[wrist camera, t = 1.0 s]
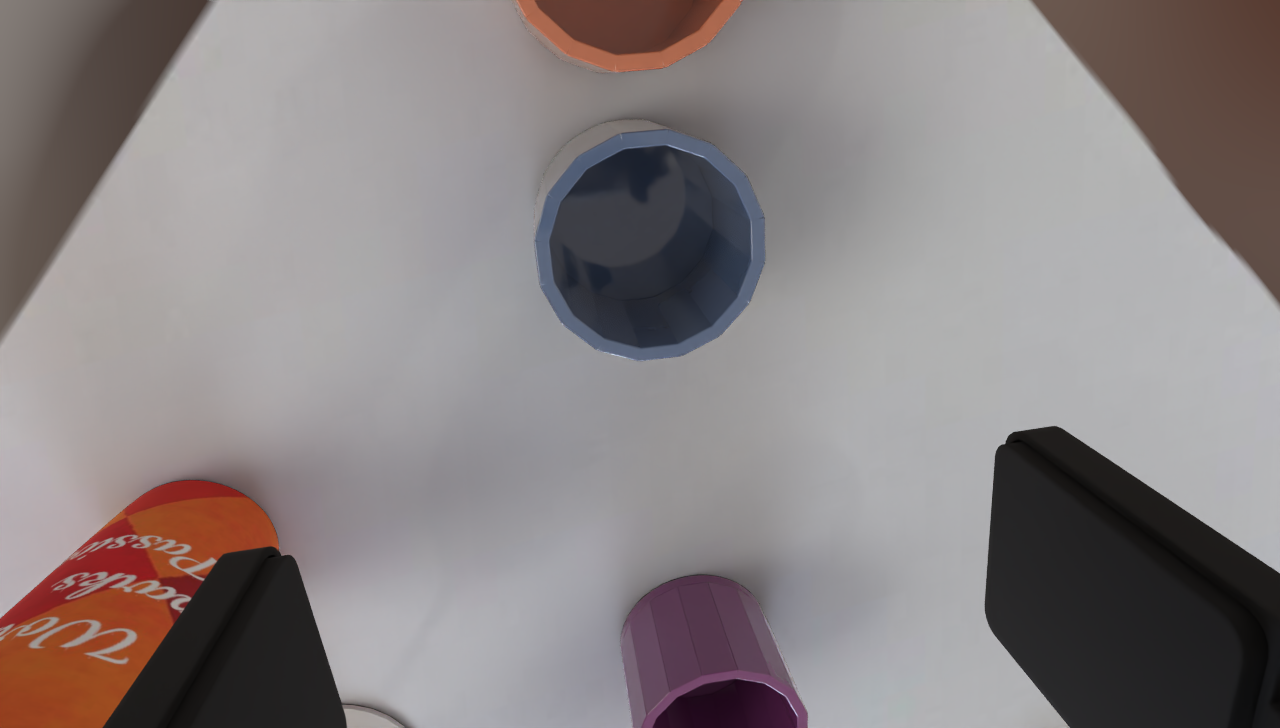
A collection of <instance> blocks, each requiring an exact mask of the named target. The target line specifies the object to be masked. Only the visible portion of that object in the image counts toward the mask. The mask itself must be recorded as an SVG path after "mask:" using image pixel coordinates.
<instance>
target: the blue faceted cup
mask: <svg viewBox="0 0 1280 728" xmlns="http://www.w3.org/2000/svg"><path fill="white" fill-rule="evenodd" d="M534 246H535V254H536V262H537V270H538V277H539V284H540V287H541V289H542V291H543V293H544V294H545V296H546V298H547V299H548V301H549V303H550V305H551V306H552V308H553V310H554V311H555V313H556V315H557V317H558V318H559V320H560V322H561V323H562V324H563V325H564V326H565V327H566V328H568V329H569V330H570V331H572V332H573V333H574V334H576V335H577V336H578V337H580V338H581V339H582V340H584V341H585V342H586V343H588V344H589V345H590V346H592V347H593V348H594V349H596V350H598V351H601V352H605V353H609V354H612V355H616V356H620V357H624V358H628V359H632V360H635V361H646V360H654V359H662V358H671V357H679V356H681V355H682V356H683V355H685V354H687V353H689V352H691V351H693V350H695V349H696V348H698V347H700V346H702V345H704V344H706V343H708V342H710V341H712V340H714V339H715V338H717V337H719V336H720V335H722V334H723V332H724V331H725V330H726V329H727V328H728V327H729V326H730V325H731V323H732V322H733V321H734V320H735V319H736V318H737V317H738V316H739V314H740V313H741V312H742V311H743V310H744V309H745V308H746V307H747V305H748V304H749V302H750V301H751V298H752V296H753V293H754V290H755V288H756V285H757V282H758V280H759V277H760V274H761V272H762V269H763V267H764V264H765V218H764V214H763V211H762V209H761V207H760V205H759V202H758V200H757V198H756V195H755V193H754V191H753V189H752V186H751V184H750V182H749V179H748V177H747V176H746V174H745V173H744V172H743V171H742V170H741V169H740V168H738V167H737V166H736V165H735V164H734V163H733V162H732V161H731V160H730V159H729V158H728V157H727V156H726V155H724V154H723V153H722V152H721V151H720V150H719V149H718V148H717V147H716V146H715V145H713V144H711V143H709V142H707V141H704V140H701V139H699V138H696V137H693V136H691V135H688V134H685V133H683V132H680V131H677V130H674V129H672V128H669V127H666V126H663V125H660V124H657V123H654V122H651V121H648V120H645V119H626V120H616V121H609V122H604V123H601V124H599V125H596V126H594V127H592V128H590V129H587V130H585V131H584V132H582V133H580V134H579V135H577V136H576V137H574V138H573V139H572V140H570V141H569V142H568V143H567V144H566V145H565V146H564V147H563V148H562V149H561V150H560V151H559V152H558V153H557V154H556V156H555V157H554V159H553V160H552V162H551V163H550V164H549V166H548V168H547V169H546V171H545V173H544V174H543V178H542V181H541V184H540V187H539V190H538V195H537V200H536V203H535V207H534Z"/></svg>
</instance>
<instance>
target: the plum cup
mask: <svg viewBox="0 0 1280 728" xmlns="http://www.w3.org/2000/svg"><path fill="white" fill-rule="evenodd" d="M620 644H621V654H622V662H623V671H624V677H625V684H626V690H627V697H628V703H629V710H630V717H631V723H632V728H808V713H807V710H806V708H805V705H804V703H803V701H802V698H801V696H800V694H799V691H798V689H797V687H796V684H795V682H794V680H793V677H792V675H791V673H790V671H789V668H788V666H787V664H786V661H785V659H784V657H783V654H782V652H781V650H780V647H779V645H778V643H777V640H776V638H775V636H774V633H773V631H772V629H771V626H770V624H769V622H768V620H767V618H766V617H765V615H764V613H763V610H762V608H761V606H760V604H759V602H758V601H757V599H756V598H755V597H754V596H753V595H752V594H751V593H750V592H749V591H748V590H747V589H746V588H744V587H743V586H741V585H739V584H738V583H736V582H734V581H731V580H729V579H726V578H722V577H718V576H711V575H695V576H687V577H682V578H678V579H675V580H672V581H669V582H667V583H665V584H663V585H661V586H659V587H657V588H655V589H654V590H652V591H651V592H649V593H648V594H647V595H645V596H644V597H643V598H642V599H641V600H640V601H639V602H638V603H637V604H636V605H635V607H634V608H633V609H632V611H631V612H630V614H629V615H628V617H627V619H626V621H625V623H624V626H623V629H622V633H621V640H620Z"/></svg>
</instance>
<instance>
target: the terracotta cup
mask: <svg viewBox="0 0 1280 728" xmlns="http://www.w3.org/2000/svg"><path fill="white" fill-rule="evenodd" d="M742 1H743V0H512V2H513V4H514V6H515V9H516V11H517V12H518V14H519V16H520V18H521V20H522V22H523V24H524V26H525V27H526V29H528V32H530V33H531V34H532V35H533V36H534V37H535V38H536V39H537V40H538V41H539V42H540V43H541V44H542V45H543V46H544V47H546V48H547V49H548V50H549V51H551V52H552V53H553V54H554V55H555V56H556V57H558V58H559V59H561V60H563V61H565V62H568V63H571V64H574V65H576V66H578V67H582V68H585V69H588V70H591V71H594V72H597V73H613V72H627V71H639V70H651V69H662V68H665V67H668V66H670V65H671V64H673V63H675V62H677V61H679V60H681V59H682V58H684V57H686V56H688V55H690V54H692V53H693V52H695V51H697V50H699V49H701V48H702V47H704V46H706V45H707V44H708V43H710V42H711V41H712V39H713V38H714V37H715V36H716V34H717V33H718V32H719V31H720V29H721V28H722V27H723V26H724V24H725V23H726V22H727V21H728V20H729V18H730V17H731V16H732V15H733V13H734V12H735V11H736V10H737V8H738V7H739V6H740V5H741V2H742Z"/></svg>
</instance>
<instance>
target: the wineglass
mask: <svg viewBox="0 0 1280 728" xmlns="http://www.w3.org/2000/svg"><path fill="white" fill-rule="evenodd" d="M342 706H343V709H344V713H345V717H346V723H347V728H405V727H404V726H403V725H401V724H400V723H399V722H397V721H396V720H394V719H393V718H391V717H390V716H388V715H386V714H383V713H381V712H378V711H376V710H374V709H370V708H365V707H360V706H355V705H342Z"/></svg>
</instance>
